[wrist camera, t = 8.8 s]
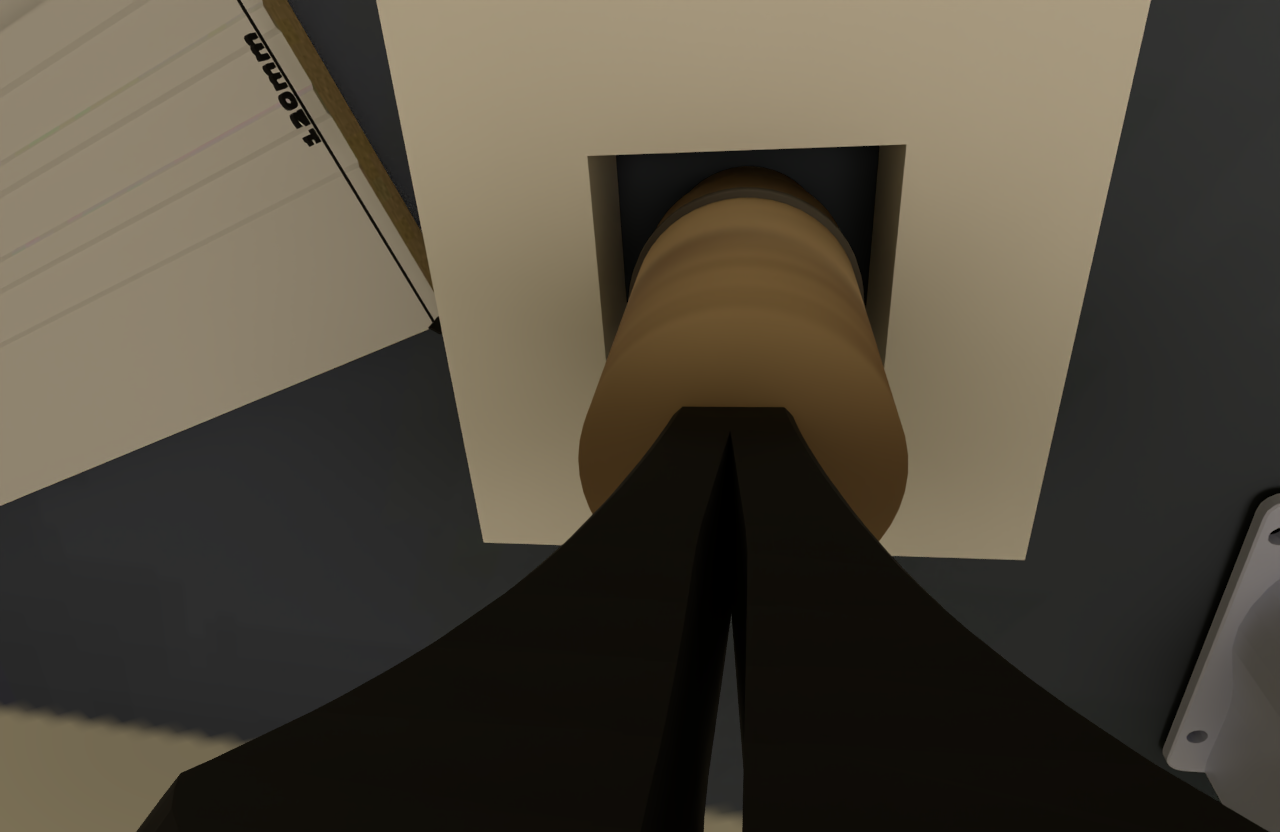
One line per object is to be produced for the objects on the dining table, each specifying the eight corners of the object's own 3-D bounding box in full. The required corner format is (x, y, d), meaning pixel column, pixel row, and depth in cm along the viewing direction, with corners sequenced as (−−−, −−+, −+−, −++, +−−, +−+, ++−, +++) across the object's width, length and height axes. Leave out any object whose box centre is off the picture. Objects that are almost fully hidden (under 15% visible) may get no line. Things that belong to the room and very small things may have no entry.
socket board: (989, 480, 20) (1024, 560, 17) (516, 471, 21) (483, 542, 19) (1097, -97, 14) (1175, -109, 11) (431, -48, 15) (366, -48, 13)
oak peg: (841, 330, 18) (904, 606, 11) (658, 336, 19) (591, 601, 11) (847, 139, 16) (932, 307, 8) (642, 153, 17) (547, 322, 9)
